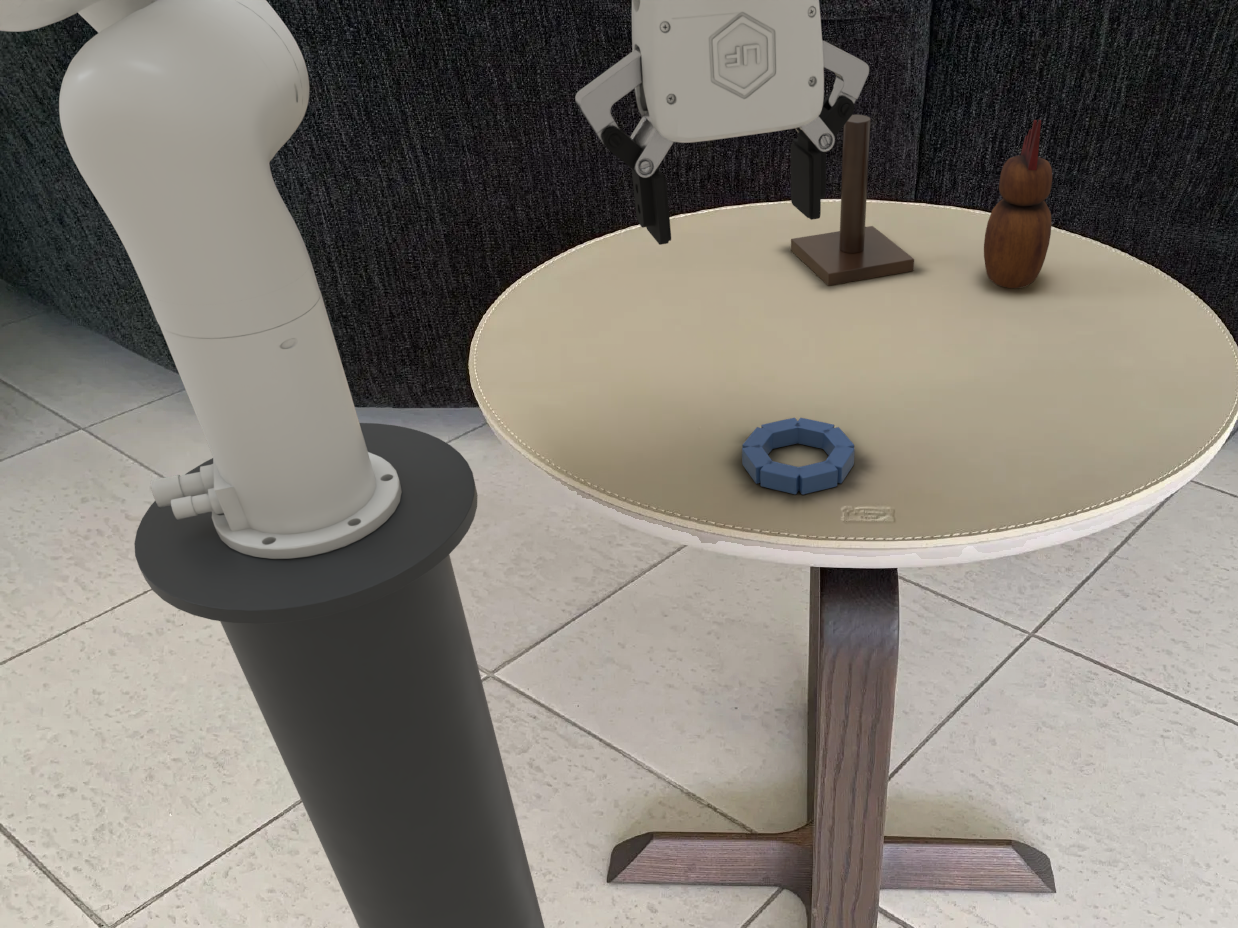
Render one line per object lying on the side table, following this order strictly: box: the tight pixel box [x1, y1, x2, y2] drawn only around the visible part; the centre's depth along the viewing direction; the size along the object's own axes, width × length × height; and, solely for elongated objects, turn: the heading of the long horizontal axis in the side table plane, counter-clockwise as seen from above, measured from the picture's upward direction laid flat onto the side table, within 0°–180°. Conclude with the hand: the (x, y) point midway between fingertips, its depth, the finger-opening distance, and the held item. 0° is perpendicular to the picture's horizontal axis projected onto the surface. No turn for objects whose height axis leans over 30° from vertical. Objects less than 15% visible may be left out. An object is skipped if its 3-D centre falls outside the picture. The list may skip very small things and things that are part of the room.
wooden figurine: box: [983, 119, 1053, 289], centre depth 96 cm, size 7×6×15 cm
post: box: [790, 114, 915, 287], centre depth 100 cm, size 9×9×13 cm
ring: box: [741, 417, 856, 495], centre depth 76 cm, size 8×8×1 cm
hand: (733, 223), depth 66 cm, fingers open, 9 cm apart
